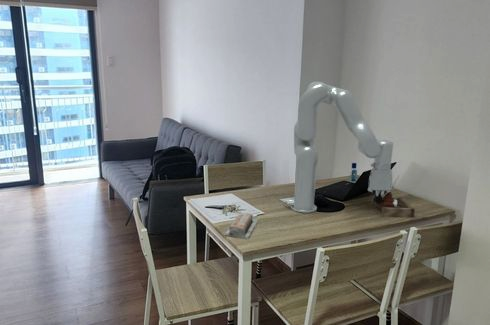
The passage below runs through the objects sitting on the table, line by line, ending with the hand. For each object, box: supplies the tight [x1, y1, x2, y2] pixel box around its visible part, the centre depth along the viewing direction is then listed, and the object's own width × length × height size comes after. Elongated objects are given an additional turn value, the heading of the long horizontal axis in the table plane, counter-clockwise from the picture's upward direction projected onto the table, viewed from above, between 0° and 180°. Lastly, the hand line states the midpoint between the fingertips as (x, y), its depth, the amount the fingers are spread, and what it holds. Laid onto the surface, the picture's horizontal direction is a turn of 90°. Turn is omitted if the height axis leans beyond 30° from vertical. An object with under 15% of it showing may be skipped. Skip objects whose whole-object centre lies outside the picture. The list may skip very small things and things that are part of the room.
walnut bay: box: [371, 196, 415, 219], centre depth 196 cm, size 14×17×4 cm
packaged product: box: [224, 212, 259, 240], centre depth 169 cm, size 18×5×10 cm
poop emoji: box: [377, 192, 398, 212], centre depth 196 cm, size 10×8×9 cm
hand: (377, 203), depth 195 cm, fingers closed
